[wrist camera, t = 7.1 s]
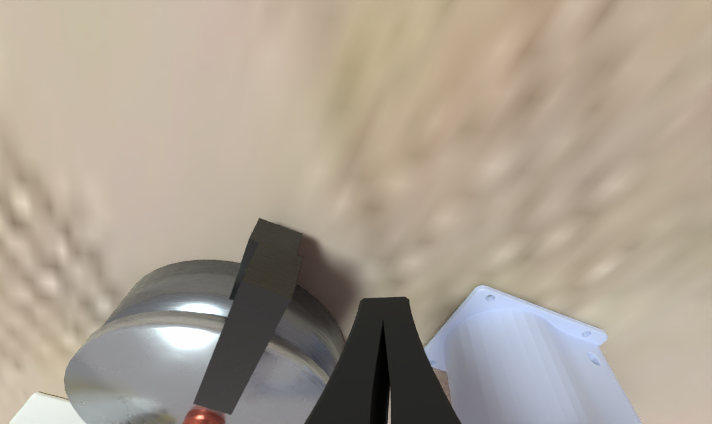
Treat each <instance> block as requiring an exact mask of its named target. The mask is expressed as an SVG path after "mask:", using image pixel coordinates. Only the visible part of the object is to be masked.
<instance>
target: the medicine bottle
mask: <svg viewBox="0 0 712 424" xmlns="http://www.w3.org/2000/svg"><path fill="white" fill-rule="evenodd" d="M9 424H86V423H85V422H84V421H83V420H82V419H81V418H80V416H79V415H78V414H77V412H76V411H75V410H74V408H73V407H72V405H71V403H70V401H69V400H67V399H64V398H60V397H56V396H52V395H48V394H44V393H41V392H36V393H34V394H33V395H32V396H31V397H30V398H29V400H28V401H27V402H26V403H25V404H24V406H23V407H22V408H21V409H20V410H19V412H18V413H17V414H16V415H15V417H14V418H13V419H12V420H11V421H10V423H9Z"/></svg>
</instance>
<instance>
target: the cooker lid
mask: <svg viewBox="0 0 712 424" xmlns="http://www.w3.org/2000/svg"><path fill="white" fill-rule="evenodd" d="M302 260H303V257H302V256H299V255H296V254H294V253H291V252H289V251H286V250H284V249H281V248H278V247H276V246H273V245H271V244H268V243H265V242H263V241H260V242H259V244H258V246H257V248H256V250H255V253H254V255H253V257H252V259H251V261H250V263H249V266H248V268H247V270H246V272H245V274H244V276H243V279H242V281H241V283H240V286H239V288H238V291H237V293H236V296H235V299H234V301H233V304H232V306H231V309H230V311H229V314H228V316H227V318H223V317H218V316H214V315H209V314H202V313H194V312H184V311H158V312H145V313H140V314H134V315H129V316H126V317H123V318H120V319H117V320H114V321H112V322H110V323H108V324H106V325H104V326H102V327H101V328H99V329H98V330H97V331H95V332H94V333H93V334H92V335H91V336H90V337H89V338H88V339H87V340H86V342H85V343H84V344H83V345H82V347H81V348H80V349H79V350H78V352H77V353H76V354H75V355H74V357H73V358H72V359H71V360H70V362H69V364H68V366H67V368H66V371H65V377H64V384H65V391H66V394H67V397H68V400H69V401H70V403H71V405H72V407H73V408H74V410H75V411H76V412H77V414H78V415H79V416H80V418H81V419H82V420H83V421H84V422H85V423H86V424H304V423H305V421H306V420H307V418H308V416H309V415H310V413H311V411H312V410H313V408H314V406H315V405H316V403H317V401H318V399H319V397H320V396H321V394H322V392H323V390H324V388H325V386H326V384H327V382H328V380H329V377H328V375H327V374H326V373H325V371H324V370H323V369H322V368H321V367H320V366H318V365H317V364H316V363H315V362H314V361H313V360H312V359H311V358H309V357H308V356H307V355H306V354H304V353H303V352H302V351H300V350H299V349H297V348H296V347H294V346H292V345H291V344H289V343H288V342H286V341H284V340H282V339H280V338H278V337H276V336H274V335H273V334H274V332H275V330H276V328H277V326H278V324H279V322H280V320H281V318H282V316H283V314H284V312H285V311H286V309H287V307H288V305H289V303H290V301H291V299H292V295H293V292H294V288H295V285H296V281H297V278H298V274H299V271H300V267H301V264H302Z"/></svg>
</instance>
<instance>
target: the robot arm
mask: <svg viewBox="0 0 712 424" xmlns="http://www.w3.org/2000/svg"><path fill="white" fill-rule="evenodd" d="M488 295H492V296H489V297H488ZM607 338H608V336H607V334H606V333H605V331H603V330H601V329H599V328H596V327H594V326H591V325H588V324H586V323H583V322H580V321H578V320H575V319H572V318H570V317H567V316H565V315H562V314H559V313H557V312H554V311H551V310H549V309H546V308H543V307H541V306H538V305H536V304H533V303H530V302H528V301H525V300H522V299H520V298H517V297H514V296H512V295H509V294H507V293H504V292H501V291H499V290H496V289H493V288H491V287H488V286H485V285H480V286H478V287H476V288H475V289H474V290H473V291H472V292H471V293H470V295H469V296H468V297H467V298H466V299H465V301H464V302H463V303H462V304H461V305H460V306H459V308H458V309H457V310H456V311H455V312H454V314H453V315H452V316H451V317H450V318H449V319H448V321H447V322H446V323H445V324H444V325H443V327H442V328H441V329H440V330H439V331H438V332H437V334H436V335H435V336H434V337H433V338H432V340H431V341H430V342H429V343H428V344H427V345H426V347H425V348H423V346H422V343H421V341H420V338H419V335H418V332H417V330H416V327H415V324H414V320H413V317H412V313H411V309H410V304H409V299H407V298H406V297H387V298H364V299H362V300H361V301H360V304H359V308H358V312H357V315H356V318H355V321H354V324H353V327H352V329H351V332H350V334H349V337H348V340H347V342H346V344H345V346H344V349H343V351H342V353H341V356H340V358H339V360H338V362H337V364H336V366H335V368H334V370H333V372H332V374H331V376H330V378H329V380H328V382H327V384H326V386H325V388H324V390H323V392H322V394H321V396H320V397H319V399H318V401H317V403H316V405H315V406H314V408H313V410H312V411H311V413H310V415H309V416H308V418H307V420H306V421H305V423H304V424H387V423H388V408H389V392H390V390H391V424H642V423H641V421H640V419H639V417H638V415H637V414H636V412H635V410H634V408H633V407H632V405H631V403H630V401H629V399H628V398H627V396H626V394H625V392H624V391H623V389H622V387H621V385H620V384H619V382H618V380H617V378H616V376H615V375H614V373H613V371H612V369H611V368H610V366H609V364H608V362H607V361H606V359H605V357H604V355H603V353H602V352H601V350H600V348H599V346H600V345H601V344H602V343H604V342H605V341H606V340H607ZM432 367H433V368H436V369H439V370H442V371H445V372H447V377H448V384H449V390H450V397H451V403H452V406H451V404H450V402H449V400H448V399H447V397H446V395H445V393H444V391H443V389H442V387H441V385H440V383H439V381H438V379H437V377H436V375H435V373H434V371H433V369H432Z"/></svg>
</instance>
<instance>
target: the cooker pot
mask: <svg viewBox="0 0 712 424" xmlns="http://www.w3.org/2000/svg"><path fill="white" fill-rule="evenodd" d="M301 238H302V234H301V233H298V232H296V231H293V230H290V229H288V228H285V227H282V226H279V225H277V224H274V223H271V222H269V221H266V220H263V219H261V218H259V220H258V222H257V224H256V226H255V228H254V230H253V232H252V234H251V236H250V238H249V241H248V244H247V247H246V250H245V253H244V256H243V259H242V262H241V263H236V262H230V261H220V260H193V261H184V262H179V263H175V264H170V265H167V266H164V267H162V268H159V269H157V270H155V271H153V272H151V273H149V274H148V275H146V276H144V277H143V278H142V279H141V280H140V281H139V282H137V283H136V285H135V286H134V287H133V288H132V290H131V291H130V292H129V293H128V295H127V296H126V297H125V298H124V300H123V301H122V302H121V304H120V305H119V306H118V307H117V309H116V310H115V311H114V312H113V314H112V315H111V316H110V317H109V319H108V320H107V321H106V323H105V324H104V325H106V324H108V323H110V322H112V321H114V320H117V319H120V318H123V317H126V316H129V315H134V314H140V313H145V312H158V311H184V312H194V313H202V314H209V315H214V316H218V317H223V318H227V316H228V314H229V311H230V309H231V306H232V304H233V301H234V299H235V296H236V293H237V291H238V288H239V286H240V283H241V281H242V279H243V276H244V274H245V272H246V270H247V268H248V266H249V263H250V261H251V259H252V257H253V255H254V253H255V250H256V248H257V246H258V244H259V242H260V241H263V242H265V243H268V244H271V245H273V246H276V247H278V248H281V249H284V250H286V251H289V252H291V253H294V254H297V250H298V247H299V244H300V241H301ZM104 325H103V326H104ZM273 335H274V336H276V337H278V338H280V339H282V340H284V341H286V342H288V343H289V344H291V345H292V346H294V347H296V348H297V349H299V350H300V351H302V352H303V353H304V354H306V355H307V356H308V357H309V358H311V359H312V360H313V361H314V362H315V363H316V364H317V365H318V366H320V367H321V368H322V369H323V370H324V371H325V373H326V374H327V375H328V377H329V378H330V376H331V374H332V372H333V370H334V368H335V366H336V364H337V362H338V360H339V358H340V356H341V353H342V351H343V349H344V346H345V344H344V339H343V336H342V333H341V331H340V329H339V327H338V325H337V323H336V321H335V320H334V318H333V317H332V315H331V314H330V313H329V311H328V310H327V309H326V308H325V307H324V306H323V305H322V304H321V303H320V302H319V301H318V300H317V299H315V298H314V297H313V296H312V295H311V294H309V293H308V292H307V291H305V290H304V289H302V288H301V287H299V286H297V285H295V288H294V292H293V295H292V299H291V301H290V303H289V305H288V307H287V309H286V311H285V312H284V314H283V316H282V318H281V320H280V322H279V324H278V326H277V328H276V330H275V332H274V334H273Z"/></svg>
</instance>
